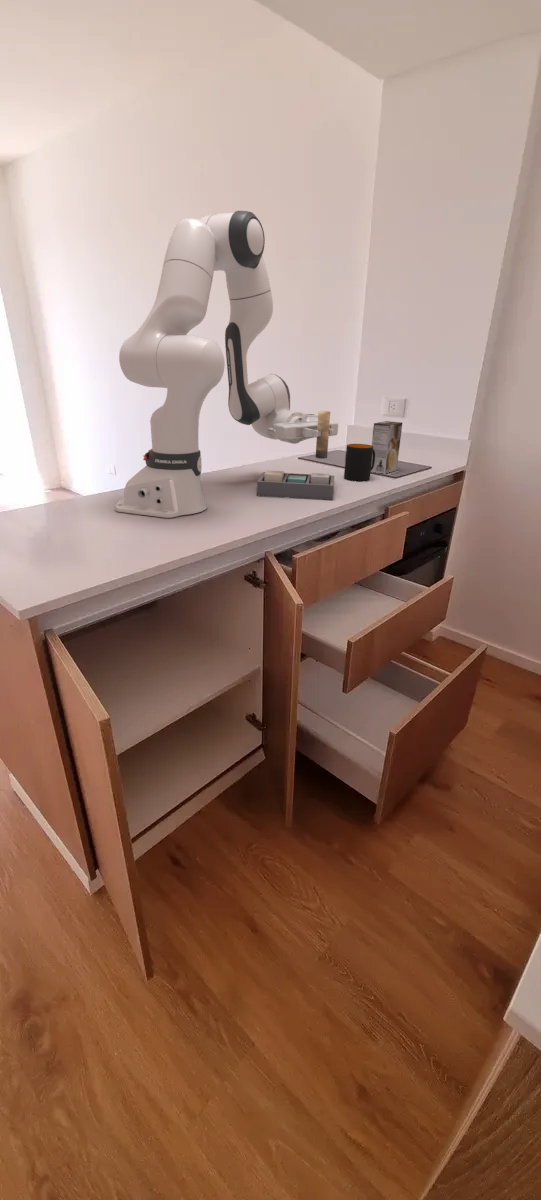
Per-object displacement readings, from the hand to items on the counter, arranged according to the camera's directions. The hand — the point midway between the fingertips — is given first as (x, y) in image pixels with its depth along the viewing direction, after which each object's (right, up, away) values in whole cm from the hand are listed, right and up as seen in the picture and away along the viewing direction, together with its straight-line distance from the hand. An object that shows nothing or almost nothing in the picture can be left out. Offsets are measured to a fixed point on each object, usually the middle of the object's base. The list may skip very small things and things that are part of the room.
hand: (325, 433), depth 141 cm
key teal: (-7, -13, +8) cm, 17 cm away
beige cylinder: (-1, -6, +4) cm, 7 cm away
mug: (+14, -6, +28) cm, 32 cm away
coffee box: (+24, -1, +39) cm, 46 cm away
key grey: (-1, -13, +7) cm, 14 cm away
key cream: (-14, -12, +8) cm, 20 cm away
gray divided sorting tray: (-7, -14, +8) cm, 18 cm away
